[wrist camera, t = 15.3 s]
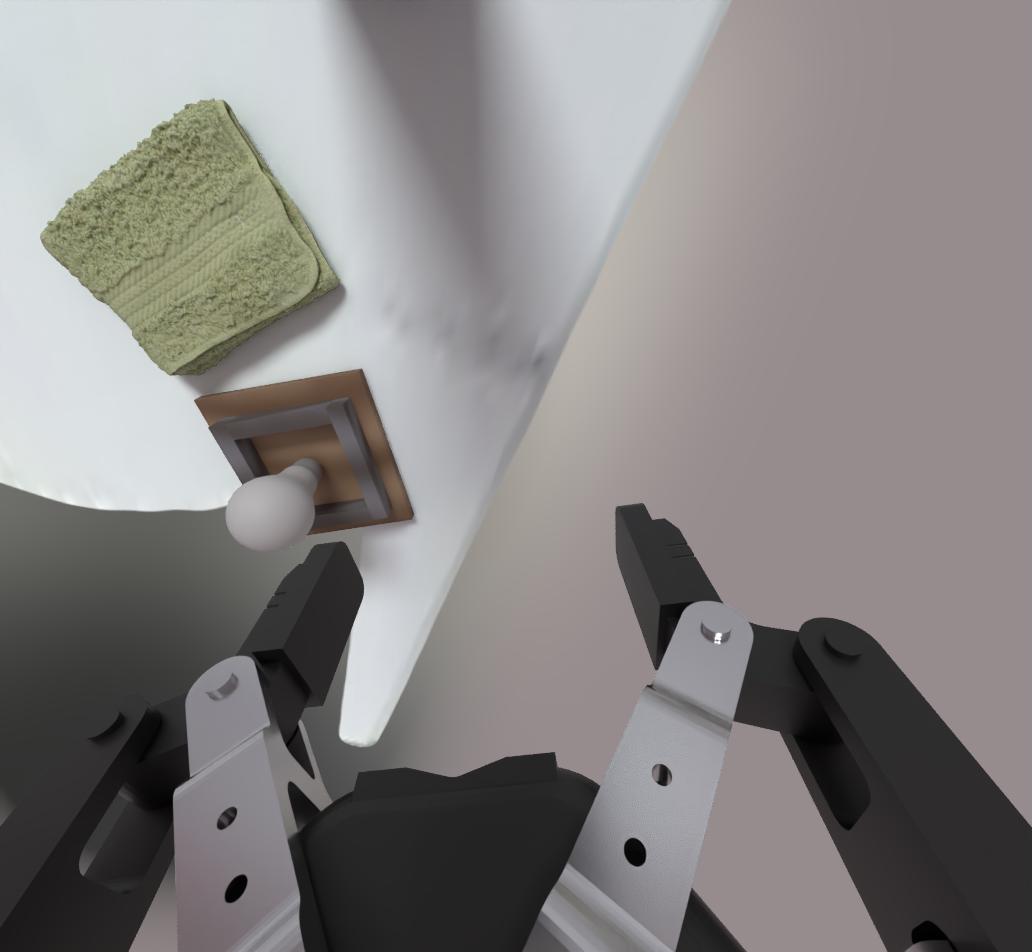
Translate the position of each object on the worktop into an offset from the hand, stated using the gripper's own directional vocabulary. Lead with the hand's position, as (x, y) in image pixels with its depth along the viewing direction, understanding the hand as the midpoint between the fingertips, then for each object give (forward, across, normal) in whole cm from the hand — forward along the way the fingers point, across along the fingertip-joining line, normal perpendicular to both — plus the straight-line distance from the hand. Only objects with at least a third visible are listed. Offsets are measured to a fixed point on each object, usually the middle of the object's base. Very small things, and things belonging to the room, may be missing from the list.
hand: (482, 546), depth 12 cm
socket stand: (+26, +19, +9) cm, 34 cm away
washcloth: (+27, +21, -9) cm, 36 cm away
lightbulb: (+26, +19, +9) cm, 33 cm away
